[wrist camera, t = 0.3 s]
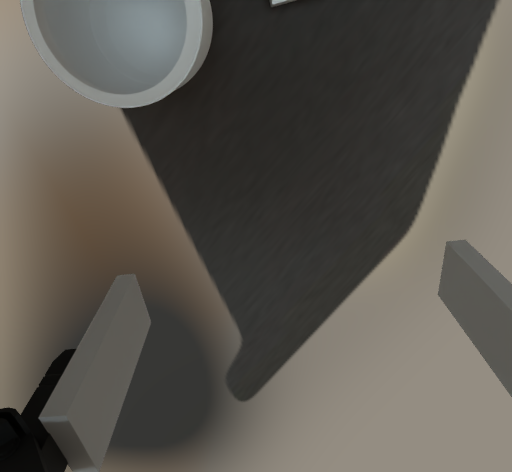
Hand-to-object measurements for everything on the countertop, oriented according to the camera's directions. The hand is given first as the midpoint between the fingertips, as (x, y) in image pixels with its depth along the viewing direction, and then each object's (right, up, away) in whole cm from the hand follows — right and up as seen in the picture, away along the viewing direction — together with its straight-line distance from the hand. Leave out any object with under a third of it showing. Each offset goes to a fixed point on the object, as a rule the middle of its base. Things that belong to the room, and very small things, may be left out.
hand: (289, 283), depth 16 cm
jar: (-10, +22, +19) cm, 31 cm away
